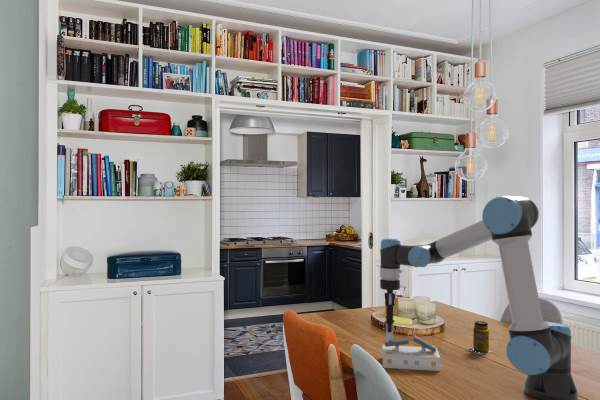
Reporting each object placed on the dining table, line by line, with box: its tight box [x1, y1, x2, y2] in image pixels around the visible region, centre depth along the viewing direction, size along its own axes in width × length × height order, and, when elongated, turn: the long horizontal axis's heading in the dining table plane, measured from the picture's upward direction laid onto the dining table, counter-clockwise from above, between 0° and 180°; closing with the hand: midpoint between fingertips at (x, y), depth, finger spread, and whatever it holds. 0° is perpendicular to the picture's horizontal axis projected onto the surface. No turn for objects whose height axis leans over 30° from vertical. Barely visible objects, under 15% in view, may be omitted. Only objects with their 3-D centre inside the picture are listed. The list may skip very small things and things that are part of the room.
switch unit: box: [382, 344, 441, 372], centre depth 183 cm, size 12×21×7 cm, turn 80°
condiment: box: [466, 320, 494, 356], centre depth 199 cm, size 7×8×12 cm
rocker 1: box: [384, 336, 410, 347], centre depth 184 cm, size 4×9×2 cm, turn 80°
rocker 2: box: [411, 334, 437, 353], centre depth 182 cm, size 4×9×2 cm, turn 80°
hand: (389, 339), depth 184 cm, fingers closed
